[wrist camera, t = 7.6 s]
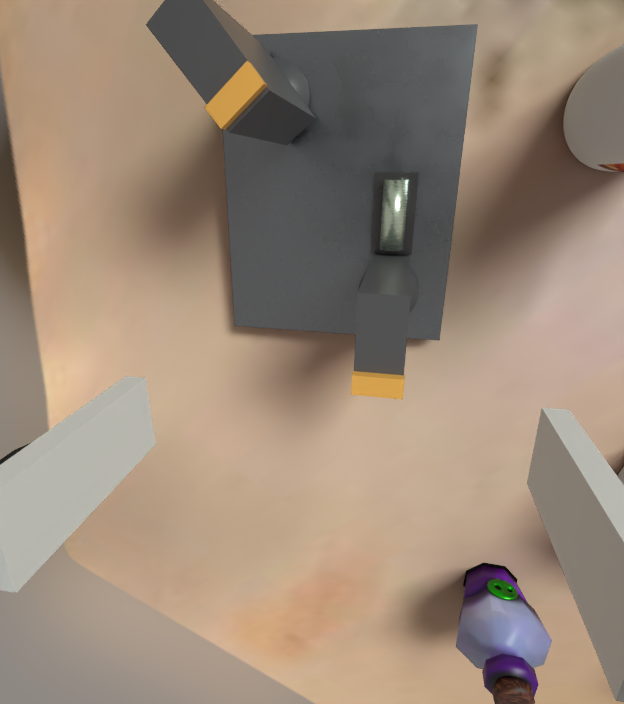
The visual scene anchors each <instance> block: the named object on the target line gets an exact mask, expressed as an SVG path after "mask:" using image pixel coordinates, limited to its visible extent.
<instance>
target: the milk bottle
mask: <svg viewBox="0 0 624 704" xmlns="http://www.w3.org/2000/svg"><path fill="white" fill-rule="evenodd" d="M563 129H564V136H565V139H566V142H567V145H568V147H569V149H570V150H571V152H572V153H573V155H574V156H575V157H576V158H577V159H578V160H579V161H580V162H582V163H583V164H585V165H587V166H589V167H591V168H594V169H597V170H601V171H610V172H624V44H623V45H622V46H620V47H618V48H617V49H615V50H613V51H611V52H610V53H608V54H607V55H605V56H604V57H602V58H601V59H599V60H598V61H597V62H596V63H594V64H593V65H592V66H591V67H590V68H589V69H588V70H587V71H586V72H585V73H584V74H583V75H582V76H581V78H580V79H579V80H578V82H577V83H576V85H575V86H574V88H573V90H572V92H571V94H570V96H569V98H568V101H567V104H566V107H565V112H564V119H563Z"/></svg>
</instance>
